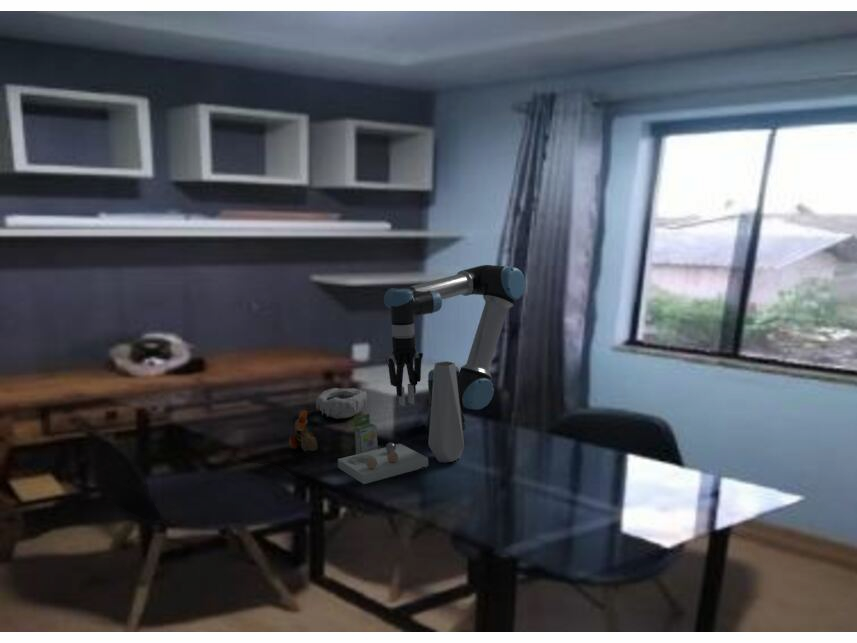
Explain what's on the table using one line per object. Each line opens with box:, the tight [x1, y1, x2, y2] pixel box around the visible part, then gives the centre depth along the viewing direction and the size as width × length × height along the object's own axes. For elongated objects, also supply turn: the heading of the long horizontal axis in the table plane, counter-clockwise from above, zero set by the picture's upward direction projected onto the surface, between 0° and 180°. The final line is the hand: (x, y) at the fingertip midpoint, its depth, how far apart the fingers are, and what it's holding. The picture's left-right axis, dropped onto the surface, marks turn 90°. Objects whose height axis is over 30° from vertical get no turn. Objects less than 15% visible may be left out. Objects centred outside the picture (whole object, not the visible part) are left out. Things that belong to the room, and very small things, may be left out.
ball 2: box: [387, 451, 398, 462], centre depth 252 cm, size 4×4×4 cm
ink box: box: [353, 413, 379, 455], centre depth 269 cm, size 7×4×13 cm, turn 131°
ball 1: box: [366, 457, 377, 469], centre depth 248 cm, size 4×4×4 cm
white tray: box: [337, 443, 429, 485], centre depth 257 cm, size 24×18×3 cm
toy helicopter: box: [288, 409, 318, 452], centre depth 272 cm, size 8×21×14 cm, turn 26°
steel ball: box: [385, 441, 396, 452], centre depth 261 cm, size 4×4×4 cm
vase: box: [428, 360, 465, 463], centre depth 258 cm, size 12×12×33 cm
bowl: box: [315, 387, 368, 420], centre depth 314 cm, size 21×20×10 cm
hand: (406, 404), depth 262 cm, fingers open, 3 cm apart
